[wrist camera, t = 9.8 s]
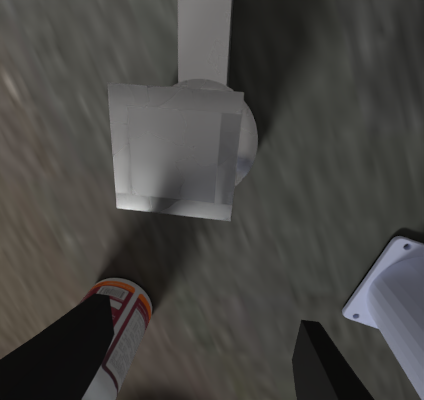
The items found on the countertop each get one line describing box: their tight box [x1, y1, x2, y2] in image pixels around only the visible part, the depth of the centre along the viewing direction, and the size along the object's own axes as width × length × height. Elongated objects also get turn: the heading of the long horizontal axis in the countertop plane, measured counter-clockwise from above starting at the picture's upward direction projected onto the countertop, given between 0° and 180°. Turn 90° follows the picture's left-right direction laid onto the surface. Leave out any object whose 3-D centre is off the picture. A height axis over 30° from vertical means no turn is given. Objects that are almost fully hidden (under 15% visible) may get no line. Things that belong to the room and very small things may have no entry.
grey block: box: [107, 83, 244, 221], centre depth 12 cm, size 5×5×6 cm
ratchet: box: [171, 0, 258, 186], centre depth 13 cm, size 19×7×5 cm, turn 178°
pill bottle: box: [78, 278, 152, 400], centre depth 18 cm, size 6×6×11 cm
